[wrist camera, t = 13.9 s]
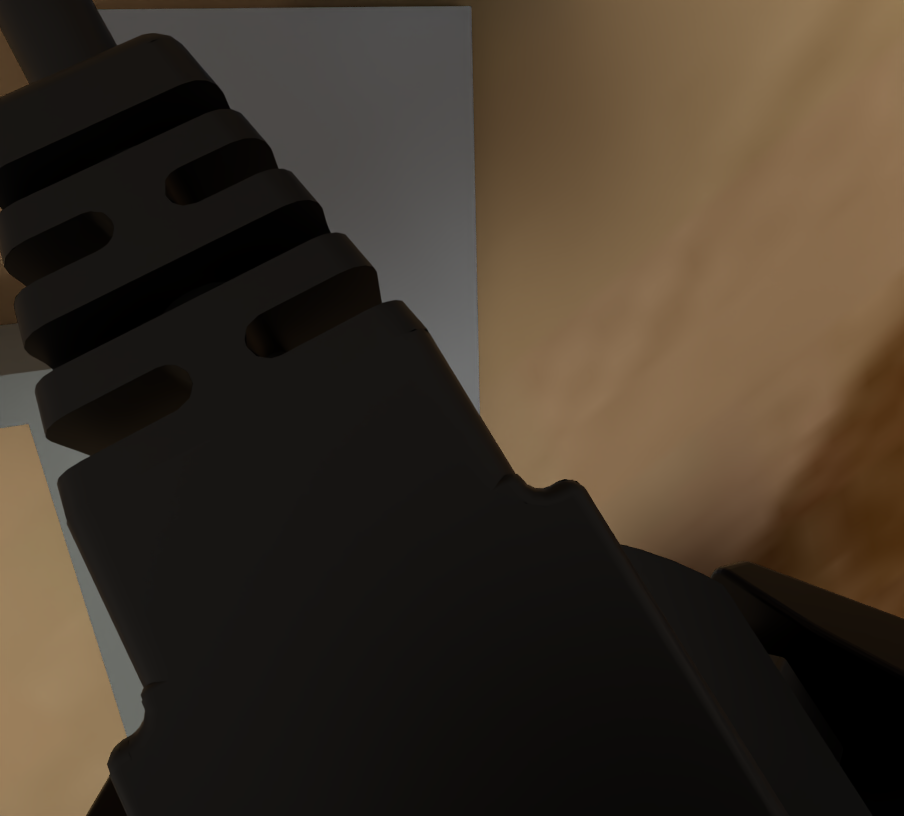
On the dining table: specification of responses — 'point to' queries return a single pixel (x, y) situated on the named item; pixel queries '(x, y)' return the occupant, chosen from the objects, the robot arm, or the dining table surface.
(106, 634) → the case
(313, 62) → the mat
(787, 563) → the dining table surface
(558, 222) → the dining table surface
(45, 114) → the power plug
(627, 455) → the dining table surface
